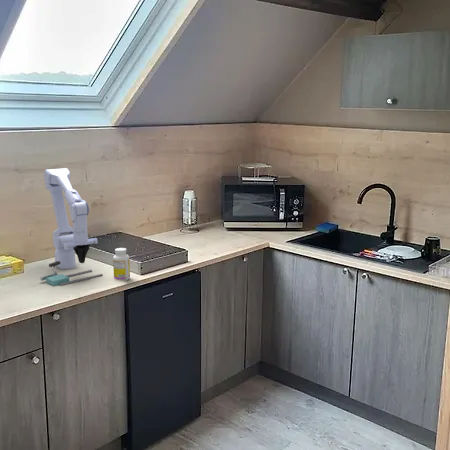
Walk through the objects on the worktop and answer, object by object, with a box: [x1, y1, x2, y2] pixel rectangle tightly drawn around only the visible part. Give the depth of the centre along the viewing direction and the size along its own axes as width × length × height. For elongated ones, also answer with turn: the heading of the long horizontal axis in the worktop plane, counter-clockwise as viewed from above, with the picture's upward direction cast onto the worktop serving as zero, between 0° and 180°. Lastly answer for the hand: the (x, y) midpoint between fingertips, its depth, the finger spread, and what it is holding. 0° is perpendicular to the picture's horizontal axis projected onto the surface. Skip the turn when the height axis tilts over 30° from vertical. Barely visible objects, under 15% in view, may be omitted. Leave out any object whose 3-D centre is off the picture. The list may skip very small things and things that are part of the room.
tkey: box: [39, 261, 60, 281], centre depth 233 cm, size 10×1×7 cm, turn 149°
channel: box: [59, 269, 103, 287], centre depth 236 cm, size 9×19×2 cm, turn 134°
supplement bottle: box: [112, 247, 131, 281], centre depth 236 cm, size 7×7×13 cm
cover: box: [45, 274, 71, 287], centre depth 230 cm, size 6×7×3 cm
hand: (81, 262), depth 238 cm, fingers closed
